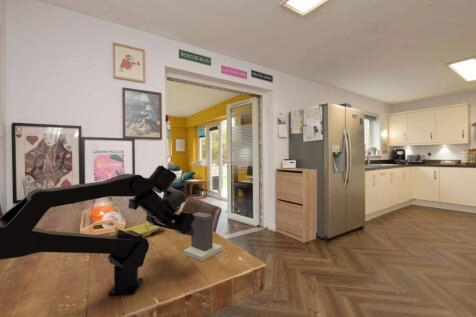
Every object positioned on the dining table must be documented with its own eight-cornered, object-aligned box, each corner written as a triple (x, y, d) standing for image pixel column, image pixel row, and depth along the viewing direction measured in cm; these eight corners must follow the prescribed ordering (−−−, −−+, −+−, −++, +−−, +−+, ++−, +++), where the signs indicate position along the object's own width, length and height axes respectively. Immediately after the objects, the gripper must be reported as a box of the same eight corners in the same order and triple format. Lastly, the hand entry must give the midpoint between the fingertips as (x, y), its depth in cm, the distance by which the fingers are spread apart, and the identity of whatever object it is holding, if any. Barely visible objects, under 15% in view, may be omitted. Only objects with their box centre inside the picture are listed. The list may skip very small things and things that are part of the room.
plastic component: (123, 239, 86) (114, 223, 92) (122, 252, 89) (113, 236, 95) (168, 224, 100) (159, 211, 106) (166, 236, 103) (157, 223, 109)
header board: (201, 261, 72) (201, 249, 72) (183, 253, 78) (183, 242, 78) (223, 249, 81) (222, 239, 81) (205, 243, 86) (205, 233, 86)
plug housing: (204, 251, 76) (204, 217, 76) (191, 246, 80) (191, 214, 80) (212, 247, 79) (212, 215, 79) (199, 243, 83) (199, 212, 83)
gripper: (189, 186, 63) (215, 215, 72) (154, 181, 74) (180, 207, 83) (166, 219, 57) (198, 246, 66) (131, 209, 68) (162, 233, 77)
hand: (184, 231), depth 73 cm, fingers open, 9 cm apart
